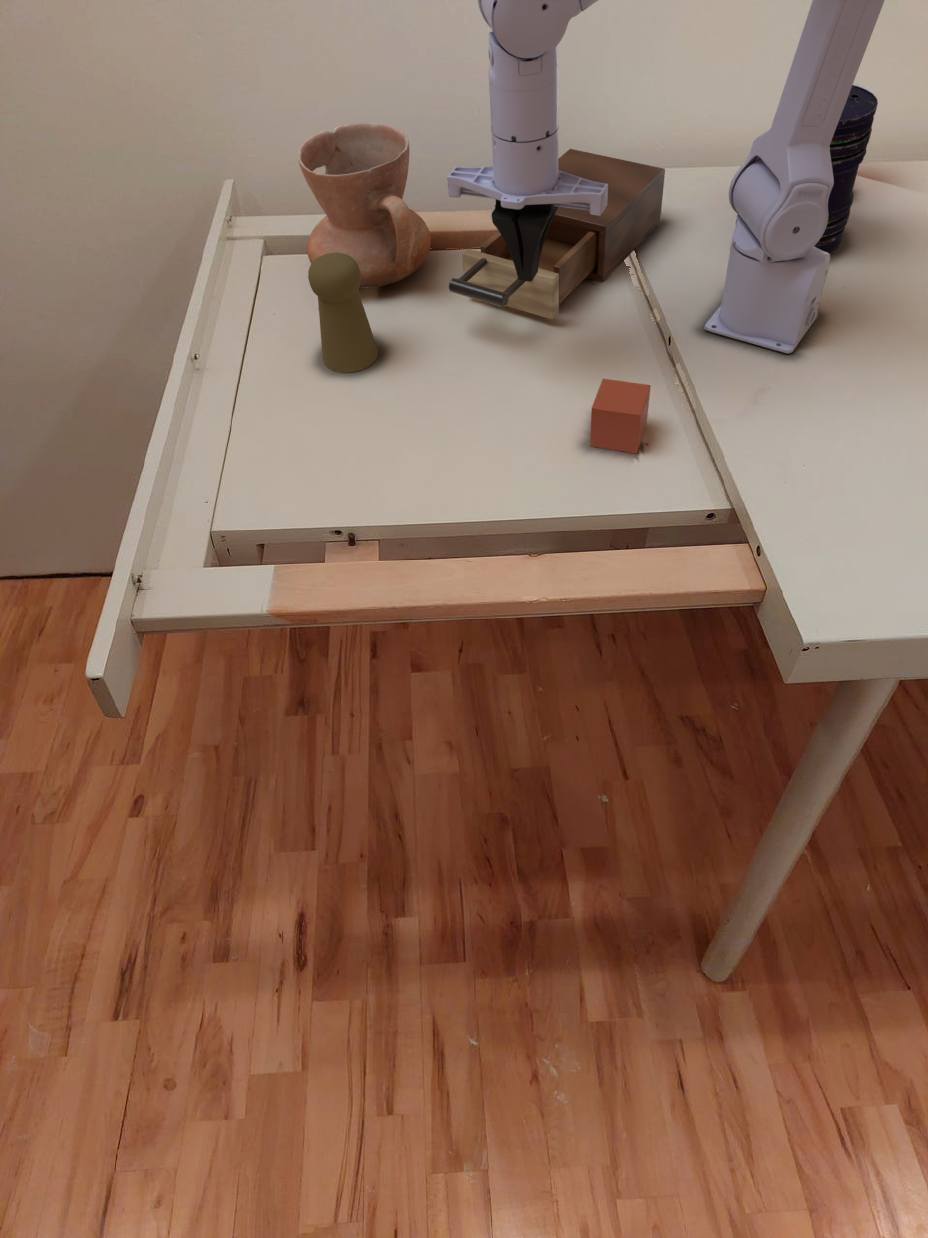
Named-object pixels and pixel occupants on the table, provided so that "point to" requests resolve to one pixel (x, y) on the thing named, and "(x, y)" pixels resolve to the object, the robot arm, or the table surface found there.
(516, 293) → the drawer
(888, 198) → the table surface
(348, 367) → the olive green pawn
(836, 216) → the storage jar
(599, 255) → the cabinet
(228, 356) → the table surface
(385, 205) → the ceramic jug
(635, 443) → the block
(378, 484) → the table surface
